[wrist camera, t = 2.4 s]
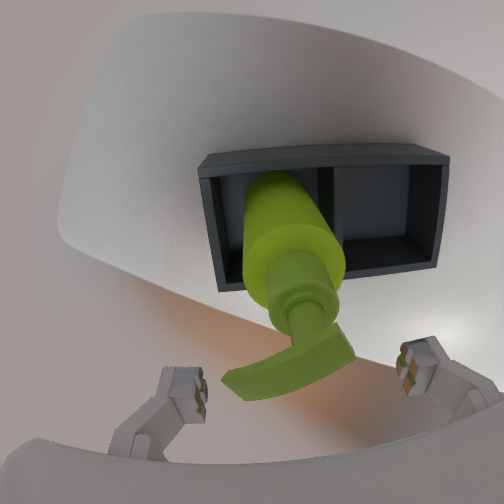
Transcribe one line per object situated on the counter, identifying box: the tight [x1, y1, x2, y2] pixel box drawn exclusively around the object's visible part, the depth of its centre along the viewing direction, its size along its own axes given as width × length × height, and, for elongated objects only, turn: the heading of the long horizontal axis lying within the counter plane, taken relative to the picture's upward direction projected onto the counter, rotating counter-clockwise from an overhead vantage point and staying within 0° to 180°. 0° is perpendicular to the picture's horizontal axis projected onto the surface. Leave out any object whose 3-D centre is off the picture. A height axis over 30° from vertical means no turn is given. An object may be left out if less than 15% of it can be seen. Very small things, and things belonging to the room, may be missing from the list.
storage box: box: [198, 143, 450, 292], centre depth 27 cm, size 11×20×6 cm, turn 96°
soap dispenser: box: [221, 171, 356, 401], centre depth 20 cm, size 6×7×20 cm
